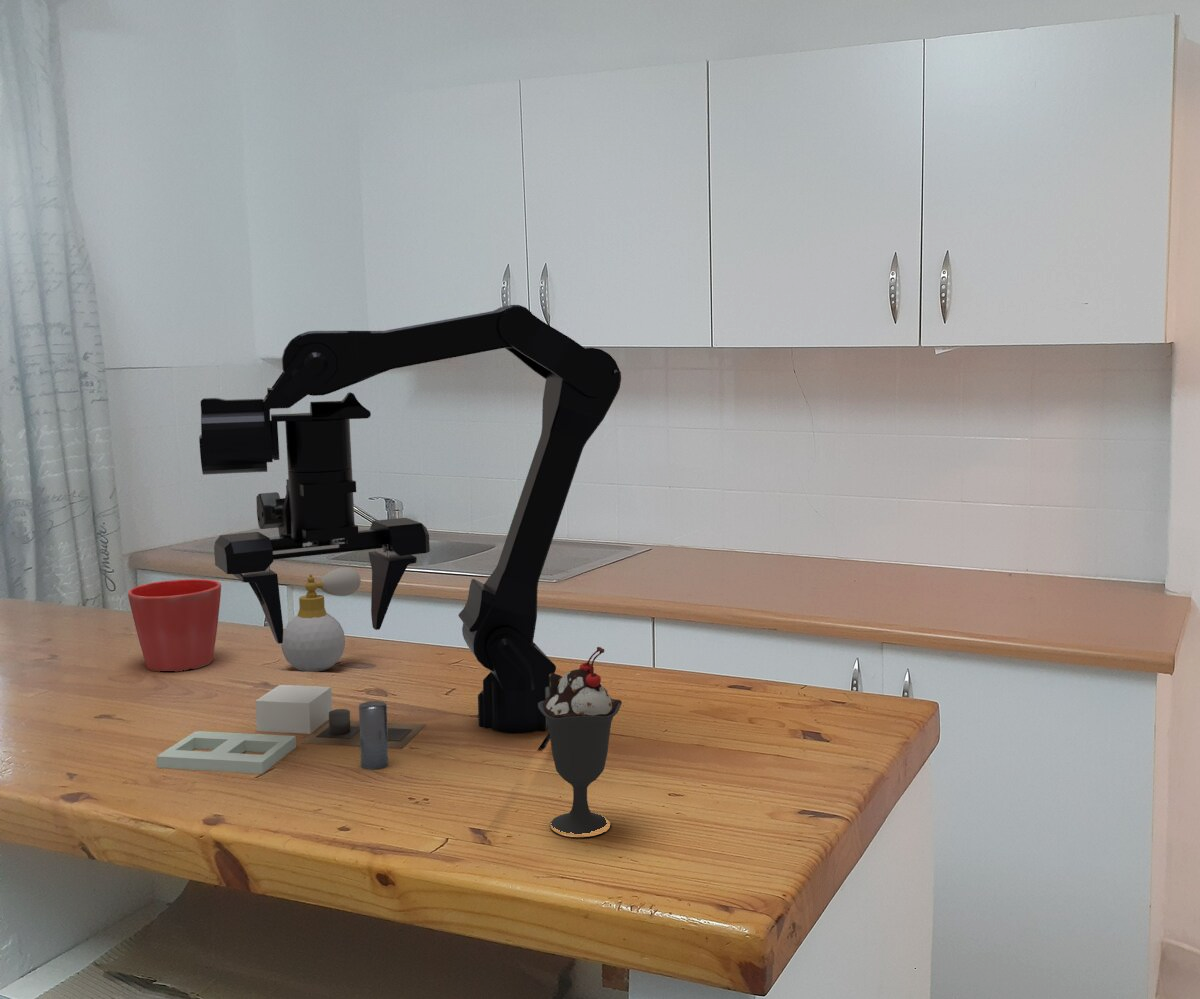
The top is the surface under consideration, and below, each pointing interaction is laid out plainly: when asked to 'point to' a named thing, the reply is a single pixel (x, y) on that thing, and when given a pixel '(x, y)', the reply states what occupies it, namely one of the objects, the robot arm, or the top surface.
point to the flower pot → (176, 622)
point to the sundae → (579, 738)
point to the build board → (227, 752)
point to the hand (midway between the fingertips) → (328, 635)
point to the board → (358, 731)
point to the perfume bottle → (318, 624)
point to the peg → (373, 735)
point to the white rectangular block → (293, 709)
